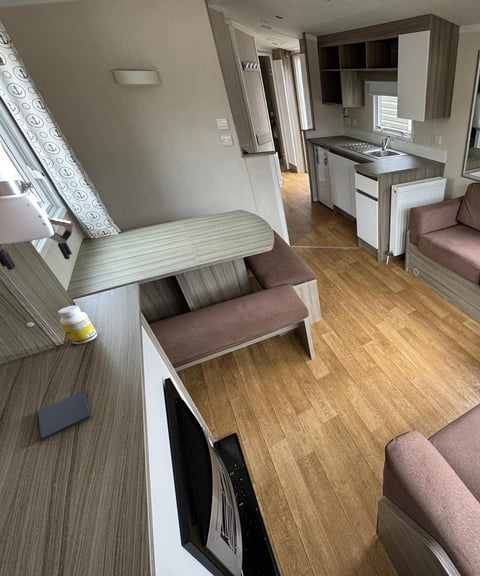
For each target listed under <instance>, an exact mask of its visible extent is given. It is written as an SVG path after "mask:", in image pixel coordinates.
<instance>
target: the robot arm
mask: <svg viewBox="0 0 480 576" xmlns="http://www.w3.org/2000/svg"><path fill="white" fill-rule="evenodd" d="M31 189H34V185H33V183H32V182H26V181H24V180H22V179H20V177H19V175H18V174H17V171H16V169H15V168H14V166H13V164H12V162H11V160H10V158H9V157H8V155H7V153H6V151H5V148H4V147H3V145H2V143H1V142H0V265H1V266H2V267H3V268H4V267H6V269H7V270H8V271H13V270H14V269H15V267H16V264H15V262H14V261H13V259H12V258H11V256H10V254H9V252H8V251H7V250H5V249H3V248H4V246H5V245H10V244H16V243H17V244H18V243H25V242H31V241H36V240H43V239H51V240H53V241H55V242H57V247H58V249H59V251H60V252H61V254H62V256H63V259H65V260H70V259H71V256H70V255H73V253H72V250H71V248H70V246H69V245H68V243H67V241H68V240H69V238H70V237H71V236H72V233H73V229H74V223H73V222H72V221H68V220H62V219H58V218H53V217H50V216H49V215H48V213H47V211H46V209H45V208H44V206H43V205H42V203H41V202H40V200H38V198H37V197H36V196H35V195H34V193H28V190H31ZM55 226H59V227H63V228H64V232H62V234H60V233H58V232H56V227H55Z"/></svg>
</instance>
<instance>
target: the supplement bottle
mask: <svg viewBox="0 0 480 576" xmlns="http://www.w3.org/2000/svg"><path fill="white" fill-rule="evenodd" d="M57 313H58V315H59V316H60V320H59V323H60V325H61V327H62V328H63V331H64V332H65V334H66V335H67V337H68V338H69V340H70V342H71V343H72V344H74V345H83V344H86V343H88V342H90V341H93V340H94V339H95V338H96V337H98V333H97V331H96V328H95V327H94V325H93V324H92V322H91V320H90V318H89V316H88V314H87V313H86V312H84V311H81V309H80V306H78V305H69V306H66V307H63V308H61V309H59V310H58V311H57Z"/></svg>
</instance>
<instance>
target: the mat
mask: <svg viewBox="0 0 480 576" xmlns="http://www.w3.org/2000/svg"><path fill="white" fill-rule="evenodd" d="M37 416H38V424H39V433H40V434H39V435H40V439H41V441H45V440H47V439H49V438H51V437H53V436H55V435H57V434H59V433H61V432H63V431H65V430H68V429H70V428H72V427H73V426H76V425H78V424H80V423H82V422H84V421H87V420H89V419H91V418H92V415H91V411H90V408H89V405H88V401H87V398H86V394H85V392H84V390H81V391H78V392H77V393H75V394H72V395H70V396H67V397H64V398H62V399H60V400H57V401H55V402H53V403H51V404H48V405H46V406H44V407H42V408H39V409H38V410H37Z"/></svg>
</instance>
